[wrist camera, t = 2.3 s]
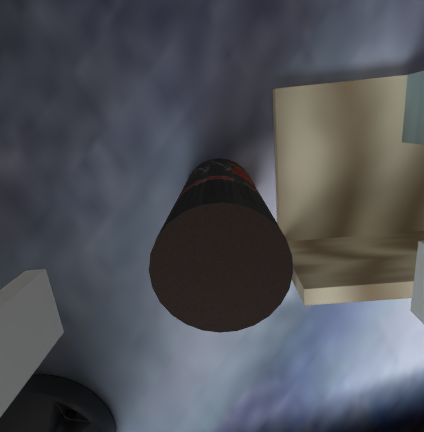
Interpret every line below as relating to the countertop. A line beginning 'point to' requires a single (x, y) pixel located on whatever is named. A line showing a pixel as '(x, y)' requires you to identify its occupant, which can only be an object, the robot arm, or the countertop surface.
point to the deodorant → (220, 252)
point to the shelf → (351, 186)
